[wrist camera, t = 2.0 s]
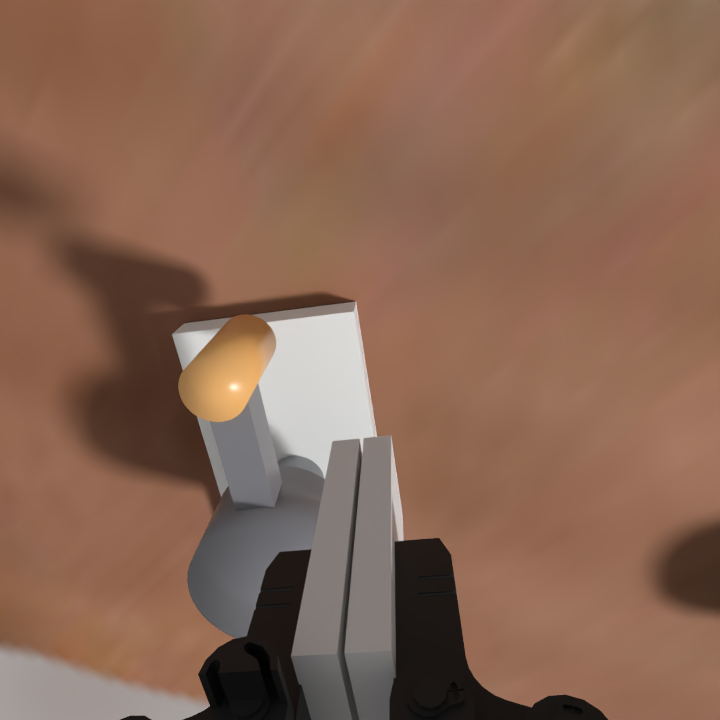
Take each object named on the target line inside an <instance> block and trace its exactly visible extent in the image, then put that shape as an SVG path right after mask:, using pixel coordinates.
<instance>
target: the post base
mask: <svg viewBox="0 0 720 720" xmlns="http://www.w3.org/2000/svg"><path fill="white" fill-rule="evenodd" d="M254 316H257V317H259V318H261V319H262V320H264V321H265V322H266V323H267V324H268V325H269V326H270V327H271V328H272V330H273V332H274V334H275V337H276V349H275V352H274V355H273V356H272V358H271V360H270V362H269V364H268V366H267V367H266V369H265V371H264V373H263V375H262V377H261V378H260V380H259V382H258V385H259V389H260V393H261V397H262V401H263V405H264V409H265V413H266V417H267V421H268V425H269V430H270V434H271V438H272V442H273V446H274V450H275V454H276V458H277V462H278V465H285V466H293V467H298V468H302V469H305V470H308V471H310V472H313V473H315V474H317V475H319V476H321V477H322V478H324V479H325V477H326V472H327V467H328V462H329V457H330V451H331V446H332V441H339V440H349V439H360V445H361V451H362V452H363V441H364V438H370V437H377V433H376V427H375V420H374V414H373V407H372V401H371V394H370V388H369V382H368V375H367V369H366V362H365V356H364V349H363V343H362V337H361V330H360V324H359V317H358V311H357V304H356V302H348V303H340V304H332V305H325V306H317V307H309V308H301V309H293V310H285V311H277V312H270V313H262V314H254ZM231 318H233V317H230V318H222V319H215V320H207V321H199V322H191V323H184V324H183V325H182V326H181V327H179V328H178V329H177V330H176V331H175V332H174V333H173V334H172V336H173V339H174V343H175V346H176V349H177V353H178V356H179V359H180V363H181V366H182V369H183V370H184V369H185V368H186V367H187V366H188V365H189V363H190V362H191V361H192V360H193V359H194V358H195V357H196V356H197V355H198V353H199V352H200V351H201V350H202V349H203V348H204V347H205V346H206V344H207V343H208V342H209V341H210V340H211V339H212V338H213V337H214V336H215V334H216V333H217V332H218V331H219V330H220V329H221V328H222V327H223V326H224V324H225V323H226V322H227V321H228V320H230V319H231ZM197 419H198V422H199V426H200V429H201V432H202V435H203V439H204V442H205V445H206V449H207V452H208V455H209V459H210V462H211V465H212V469H213V472H214V475H215V479H216V482H217V485H218V488H219V492H220V495H221V497H222V495H223V493H224V491H225V490H226V488H227V487H228V482H227V479H226V476H225V472H224V469H223V465H222V462H221V459H220V455H219V452H218V448H217V445H216V441H215V438H214V435H213V431H212V428H211V424H210V421H207V420H204V419H202V418H199V417H198V416H197Z"/></svg>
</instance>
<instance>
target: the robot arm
mask: <svg viewBox="0 0 720 720" xmlns="http://www.w3.org/2000/svg"><path fill="white" fill-rule="evenodd" d="M260 590H261V591H260V593H259V595H258V599H257V602H256V609H255V610H254V613H253V616H252V620H251V623H250V626H249V630H248V633H247V636H245V637H241V638H236V639H232V640H231V641H229V642H227V643H225V644H224V645H222V646H220V647H218V648H217V649H216V650H215V651H214V652H213V653H212V654H211V655H210V656H209V657H208V658H207V659H206V661H205V663H204V665H203V666H202V668H201V670H200V672H199V674H198V675H199V678H200V680H201V683H202V686H203V688H204V691H205V693H206V696H207V699H208V701H209V704H210V707H208V708H207V709H206V710H204V711H202V712H200V713H198V714H196V715H194V716H192V717H189V718H186V719H184V720H608V719H607V718H606V717H605V716H604V714H603V713H602V712H601V711H600V710H598V709H597V708H595V707H594V706H592V705H591V704H589V703H588V702H586V701H584V700H582V699H579V698H575V697H571V696H568V695H556V696H548V697H546V698H544V699H542V700H540V701H539V702H537V703H535V704H534V705H533V707H532V708H531V707H528V706H524V705H521V704H517V703H514V702H510V701H507V700H505V699H502V698H500V697H497V696H495V695H493V694H492V693H490V692H489V691H487V690H486V689H485V688H483V687H482V686H481V685H480V684H479V682H478V681H477V680H476V679H475V678H474V676H473V675H472V673H471V671H470V669H469V667H468V664H467V660H466V656H465V649H464V642H463V635H462V628H461V622H460V615H459V608H458V601H457V594H456V587H455V580H454V573H453V566H452V559H451V554H450V553H449V551H448V550H447V548H446V547H445V546H444V544H443V543H442V542H441V540H440V539H439V538H433V539H420V540H407V541H403V515H402V508H401V501H400V494H399V487H398V480H397V473H396V466H395V459H394V452H393V445H392V438H391V435H390V436H380V437H370V438H364V441H363V452H362V451H361V445H360V439H349V440H339V441H332V446H331V451H330V457H329V462H328V467H327V472H326V477H325V482H324V488H323V493H322V498H321V503H320V508H319V514H318V519H317V524H316V529H315V534H314V540H313V545H312V549H309V550H296V551H283V552H279V553H278V555H277V556H276V557H275V558H274V560H273V561H272V562H271V564H270V565H269V566H268V568H267V569H266V571H265V575H264V578H263V582H262V585H261V588H260ZM121 720H151V719H149V718H148V717H146V716H129V717H126V718H123V719H121Z"/></svg>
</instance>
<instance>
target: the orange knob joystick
mask: <svg viewBox="0 0 720 720" xmlns="http://www.w3.org/2000/svg"><path fill="white" fill-rule="evenodd" d="M275 349H276V337H275V334H274V332H273V330H272V328H271V327H270V326H269V325H268V324H267V323H266V322H265V321H264V320H262V319H261V318H259V317H257V316H254V315H248V314H243V315H238V316H235V317H233V318H231V319H230V320H228V321H227V322H226V323H225V324H224V326H223V327H222V328H221V329H220V330H219V331H218V332H217V333H216V334H215V336H214V337H213V338H212V339H211V340H210V341H209V342H208V343H207V344H206V346H205V347H204V348H203V349H202V350H201V351H200V352H199V353H198V355H197V356H196V357H195V358H194V359H193V360H192V361H191V362H190V363H189V365H188V366H187V367H186V368H185V369H184V370H183V372H182V373H181V375H180V378H179V383H178V389H179V394H180V397H181V400H182V401H183V403H184V405H185V406H186V407H187V408H188V409H189V410H190V411H191V412H192V413H193V414H195V415H196V416H198V417H199V418H202V419H204V420H207V421H210V424H211V428H212V431H213V435H214V438H215V441H216V445H217V448H218V452H219V455H220V459H221V462H222V465H223V469H224V472H225V476H226V479H227V482H228V487H227V488H226V490H225V491H224V493H223V495H222V497H221V499H220V501H219V503H218V505H217V508H216V510H215V512H214V514H213V516H212V518H211V520H210V522H209V524H208V527H207V529H206V531H205V533H204V535H203V537H202V539H201V541H200V543H199V546H198V548H197V550H196V552H195V554H194V556H193V558H192V561H191V563H190V566H189V570H188V579H187V580H188V588H189V592H190V595H191V597H192V600H193V602H194V604H195V605H196V607H197V608H198V610H199V611H200V612H201V614H202V615H203V616H204V617H205V618H206V619H207V620H208V621H209V622H210V623H211V624H213V625H214V626H215V627H217V628H218V629H219V630H221V631H223V632H224V633H226V634H228V635H230V636H232V637H234V638H241V637H245V636H247V633H248V630H249V626H250V623H251V620H252V616H253V613H254V610H255V609H256V602H257V599H258V595H259V593H260V591H261V590H260V588H261V585H262V582H263V578H264V575H265V571H266V569H267V568H268V566H269V565H270V564H271V562H272V561H273V560H274V558H275V557H276V556H277V555H278V553H279V552H283V551H296V550H309V549H312V545H313V540H314V534H315V529H316V524H317V519H318V514H319V508H320V503H321V498H322V493H323V488H324V482H325V479H324V478H322V477H321V476H319V475H317V474H315V473H313V472H310V471H308V470H305V469H302V468H298V467H293V466H285V465H278V462H277V458H276V454H275V450H274V446H273V442H272V438H271V434H270V430H269V425H268V421H267V417H266V413H265V409H264V405H263V401H262V397H261V393H260V389H259V385H258V382H259V380H260V378H261V377H262V375H263V373H264V371H265V369H266V367H267V366H268V364H269V362H270V360H271V358H272V356H273V355H274V352H275Z"/></svg>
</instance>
